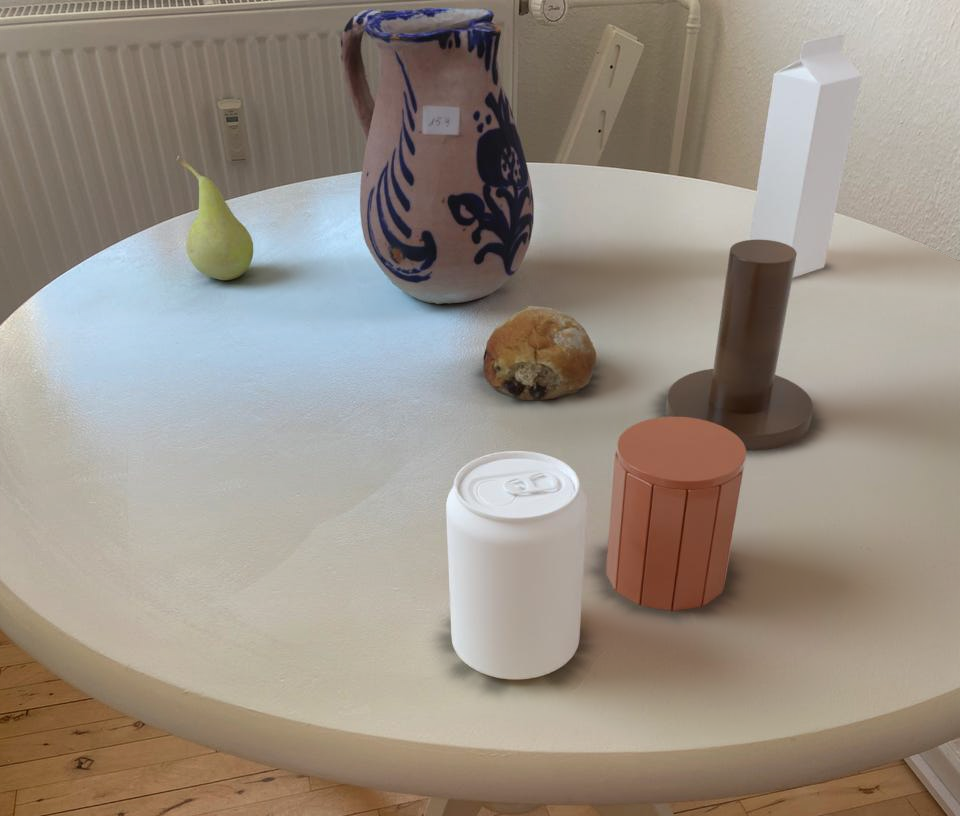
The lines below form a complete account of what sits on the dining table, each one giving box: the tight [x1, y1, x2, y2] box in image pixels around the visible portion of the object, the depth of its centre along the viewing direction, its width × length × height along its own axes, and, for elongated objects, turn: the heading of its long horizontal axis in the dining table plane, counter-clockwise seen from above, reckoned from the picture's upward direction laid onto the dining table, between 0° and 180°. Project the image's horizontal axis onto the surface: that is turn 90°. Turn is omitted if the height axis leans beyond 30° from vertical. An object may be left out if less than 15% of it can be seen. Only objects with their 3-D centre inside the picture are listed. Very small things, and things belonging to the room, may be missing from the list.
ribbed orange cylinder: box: [605, 416, 747, 612], centre depth 70 cm, size 8×8×10 cm
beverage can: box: [445, 450, 588, 680], centre depth 64 cm, size 8×8×12 cm
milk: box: [748, 33, 863, 279], centre depth 108 cm, size 6×6×22 cm
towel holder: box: [665, 239, 814, 452], centre depth 85 cm, size 12×12×14 cm
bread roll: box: [483, 305, 597, 401], centre depth 94 cm, size 10×10×8 cm
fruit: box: [176, 155, 254, 281], centre depth 111 cm, size 7×8×12 cm
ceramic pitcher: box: [340, 6, 535, 305], centre depth 104 cm, size 18×21×25 cm
